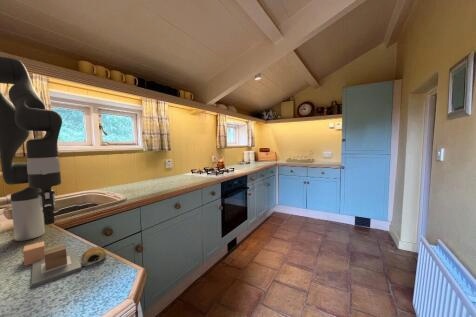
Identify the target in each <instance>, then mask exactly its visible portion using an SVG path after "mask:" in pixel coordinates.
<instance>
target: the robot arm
mask: <svg viewBox="0 0 476 317" xmlns="http://www.w3.org/2000/svg"><path fill="white" fill-rule="evenodd" d="M0 84H5V85H6V84H7V85H12V86H10V88H9V90H8V98H9V99H8V98H7V97H6V96H5V95H4V93H3V92H2V90H1V89H0V166H1V173H2V178H3V179H2V180H3V181H4V183H5V184H6V185H9V186H10V185H11V186H12V185H21V184H28V186H27V187H26V188H23V189H21V190H19V191H16V192H13V193H11V194H10V205H11V213H12V223H13V224H12V225H13V233H14V241H16V242H22V241H28V240H33V239H35V238H38V237H41V236H43V235H44V234H46V233H45V226H47V225H51V224H54V223H55V213H54V212H55V206H56V199H55V198H56V191H55V189H52V187H56V186H60V185H61V184H62V177H61V164H60V160H59V156H58V154H59V152H58V141H59V135H60V132H61V128H62V125H63V118H62V116H61V115H60V113H59V112H58V111H56V110H54V109H46V105H45V103H44V101H43V100H42V99H41V97H40V96H39V94H38V93H37V92H36V89H35V88H34V84H33V82H32V79H31V77H30V75H29V72H28V69H27V68H26V66H25V65H24V63H23V62H22V61H21V60H19V59H16V58H13V57H7V56H0ZM30 132H46V133H45V135H44V136H42V137H39V138H38V137H37V138H32V139H31V138H30V139H28V138H29V136H30ZM27 139H28V140H27ZM24 143H26V144H25V149H26V158H27V162H26V161H25V162H24V161H23V162H14V157H15V155H16V153H17V152H18V151H19V149H20V148H21V147H22V146H23V145H24Z"/></svg>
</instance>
